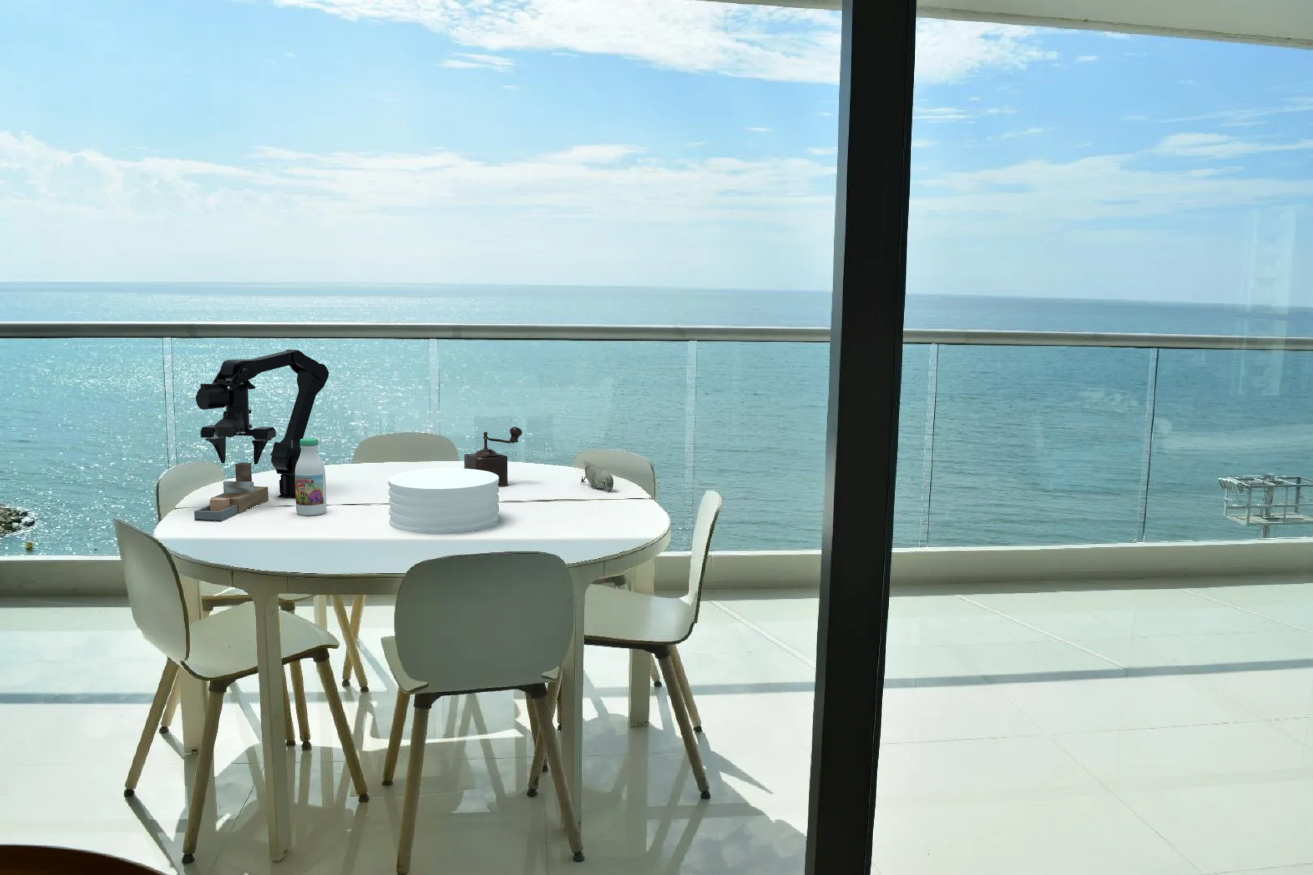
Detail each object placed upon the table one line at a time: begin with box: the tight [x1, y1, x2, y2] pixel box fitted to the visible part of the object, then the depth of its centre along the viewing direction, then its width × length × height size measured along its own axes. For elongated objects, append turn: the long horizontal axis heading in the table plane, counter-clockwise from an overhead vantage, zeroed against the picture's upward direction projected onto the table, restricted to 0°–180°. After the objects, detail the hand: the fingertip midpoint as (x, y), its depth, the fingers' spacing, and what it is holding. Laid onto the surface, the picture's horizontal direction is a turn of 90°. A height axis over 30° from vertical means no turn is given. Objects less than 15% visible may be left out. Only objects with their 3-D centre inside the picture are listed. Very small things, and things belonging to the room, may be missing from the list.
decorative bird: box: [580, 460, 615, 493], centre depth 304 cm, size 5×16×7 cm, turn 32°
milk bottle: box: [295, 437, 328, 516], centre depth 263 cm, size 8×8×20 cm
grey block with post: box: [222, 462, 255, 494], centre depth 271 cm, size 8×5×8 cm, turn 85°
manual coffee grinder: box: [463, 426, 523, 488], centre depth 306 cm, size 16×11×18 cm
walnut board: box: [210, 485, 270, 515], centre depth 271 cm, size 8×16×4 cm, turn 175°
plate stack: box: [387, 467, 500, 535], centre depth 258 cm, size 28×28×12 cm
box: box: [193, 504, 239, 523], centre depth 258 cm, size 7×8×2 cm
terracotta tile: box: [209, 497, 230, 511], centre depth 260 cm, size 4×4×2 cm
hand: (239, 463), depth 270 cm, fingers open, 9 cm apart
